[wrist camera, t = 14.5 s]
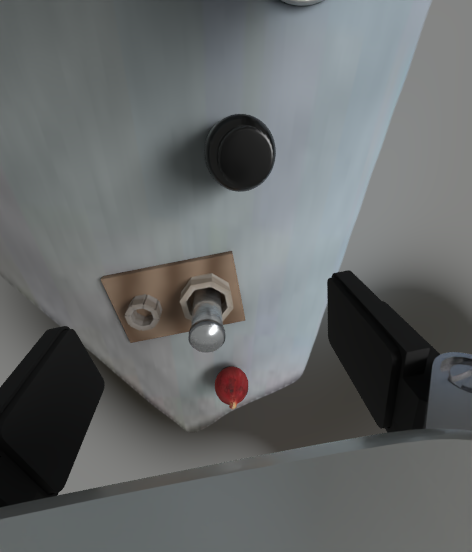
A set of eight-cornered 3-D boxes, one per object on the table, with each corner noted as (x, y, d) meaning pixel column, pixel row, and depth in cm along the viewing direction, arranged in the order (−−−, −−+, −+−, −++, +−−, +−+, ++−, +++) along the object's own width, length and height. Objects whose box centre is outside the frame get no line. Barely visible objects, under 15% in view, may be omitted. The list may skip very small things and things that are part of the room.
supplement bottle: (218, 188, 35) (223, 212, 24) (195, 133, 32) (188, 133, 21) (268, 166, 34) (295, 180, 24) (249, 107, 31) (270, 94, 21)
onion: (213, 357, 49) (214, 395, 42) (245, 355, 49) (252, 393, 42) (214, 380, 51) (216, 420, 44) (245, 378, 52) (251, 417, 45)
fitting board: (231, 250, 39) (233, 260, 36) (244, 316, 45) (247, 330, 42) (103, 276, 39) (94, 288, 36) (132, 338, 45) (126, 353, 42)
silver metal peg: (218, 280, 40) (221, 321, 31) (224, 304, 42) (228, 349, 33) (189, 286, 40) (184, 329, 31) (196, 309, 42) (193, 356, 33)
